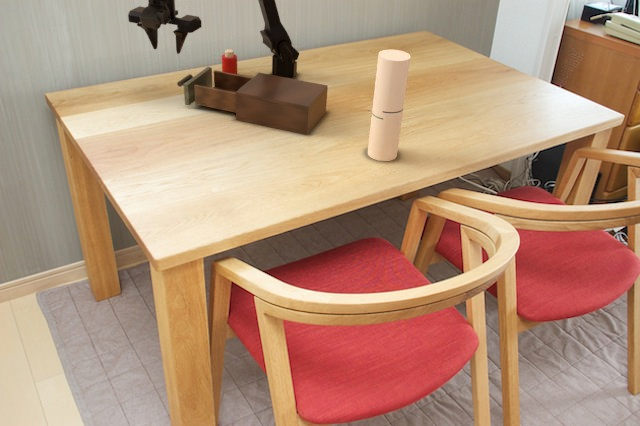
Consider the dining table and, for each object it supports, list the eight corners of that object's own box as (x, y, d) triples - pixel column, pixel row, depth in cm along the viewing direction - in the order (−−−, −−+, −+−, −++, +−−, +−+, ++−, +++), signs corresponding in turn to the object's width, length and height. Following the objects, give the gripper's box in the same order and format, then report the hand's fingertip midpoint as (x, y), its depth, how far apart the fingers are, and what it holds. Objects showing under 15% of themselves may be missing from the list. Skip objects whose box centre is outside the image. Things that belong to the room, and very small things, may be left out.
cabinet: (235, 119, 171) (235, 92, 166) (258, 98, 182) (259, 72, 178) (307, 134, 166) (308, 106, 162) (325, 112, 178) (327, 85, 173)
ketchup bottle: (219, 78, 193) (219, 52, 189) (226, 73, 197) (225, 47, 192) (233, 80, 192) (232, 54, 188) (239, 75, 196) (239, 49, 191)
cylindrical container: (395, 163, 156) (409, 62, 142) (365, 158, 157) (376, 58, 143) (398, 149, 162) (411, 51, 148) (369, 145, 163) (380, 47, 149)
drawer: (170, 101, 175) (169, 81, 172) (195, 83, 186) (194, 64, 183) (248, 118, 170) (248, 97, 167) (269, 98, 181) (269, 78, 177)
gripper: (112, -6, 163) (119, 54, 172) (179, 5, 158) (183, 67, 167) (137, -17, 172) (142, 42, 180) (201, -6, 167) (203, 53, 176)
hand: (167, 51), depth 176 cm, fingers open, 7 cm apart
